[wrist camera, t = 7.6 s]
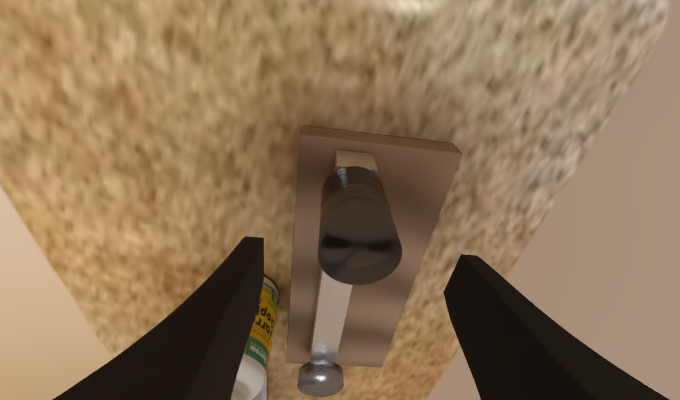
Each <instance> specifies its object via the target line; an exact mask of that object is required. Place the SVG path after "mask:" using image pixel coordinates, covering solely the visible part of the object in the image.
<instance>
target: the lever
mask: <svg viewBox="0 0 680 400" xmlns="http://www.w3.org/2000/svg"><path fill="white" fill-rule="evenodd" d="M377 172H378V169H377V166H376V163H375V159H374V156H373V154H369V153H360V152H351V151H342V150H336V156H335V164H334V171H333V173H332V174H331V175H330V176H329V177H328V178H327V179H326V181H325V182H324V184H323V187H322V191H321V208H320V226H319V244H318V261H319V264H320V266H321V270H320V277H319V285H318V293H317V300H316V308H315V315H314V323H313V331H312V338H311V346H310V353H309V362H308V363H306V364H304V365H303V366H301V368H300V369H299V374H298V389H299V390H300V391H301V392H302V393H304V394H306V395H309V396H314V397H326V396H331V395H334V394H336V393H338V392H340V391H341V390H342V388H343V385H344V383H343V369H342V367H341V366H340V365H338V364H337V363H336V358H337V354H338V349H339V344H340V340H341V335H342V331H343V326H344V322H345V317H346V313H347V308H348V304H349V299H350V294H351V290H352V285H366V284H371V283H375V282H377V281H380V280H382V279H384V278H386V277H387V276H389V275H390V274H391V273H392V272H393V271H394V270H395V269H396V268H397V266H398V265H399V263H400V261H401V257H402V246H401V243H400V239H399V236H398V233H397V230H396V226H395V223H394V220H393V216H392V213H391V210H390V206H389V203H388V200H387V197H386V193H385V190H384V187H383V184H382V181H381V180H380V178H379V177H378V176H377Z"/></svg>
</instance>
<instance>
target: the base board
mask: <svg viewBox="0 0 680 400" xmlns="http://www.w3.org/2000/svg"><path fill="white" fill-rule="evenodd" d="M336 150H342V151H351V152H360V153H369V154H373V156H374V159H375V163H376V166H377V169H378V172H377V176H378V177H379V178H380V180H381V181H382V184H383V187H384V190H385V193H386V197H387V200H388V203H389V206H390V210H391V213H392V216H393V220H394V223H395V226H396V230H397V233H398V236H399V239H400V243H401V246H402V257H401V261H400V263H399V265H398V266H397V268H396V269H395V270H394V271H393V272H392V273H391V274H390V275H389V276H387V277H386V278H384V279H382V280H380V281H377V282H375V283H371V284H366V285H352V290H351V294H350V299H349V304H348V308H347V313H346V317H345V322H344V326H343V331H342V335H341V340H340V344H339V349H338V354H337V358H336V363H337V364H338V365H345V366H366V367H382V365H383V362H384V359H385V357H386V354H387V352H388V349H389V346H390V344H391V341H392V338H393V336H394V333H395V330H396V328H397V325H398V322H399V320H400V317H401V314H402V312H403V309H404V306H405V304H406V301H407V298H408V296H409V293H410V291H411V288H412V285H413V283H414V280H415V277H416V275H417V272H418V269H419V267H420V264H421V261H422V259H423V256H424V253H425V251H426V248H427V245H428V243H429V240H430V237H431V235H432V232H433V230H434V227H435V224H436V222H437V219H438V216H439V214H440V211H441V208H442V206H443V203H444V200H445V198H446V195H447V192H448V190H449V187H450V184H451V182H452V179H453V176H454V174H455V171H456V169H457V166H458V163H459V161H460V158H461V155H462V153H461V152H460V151H459V150H458V149H457V147H456V146H455V145H454V144H453V143H444V142H436V141H427V140H419V139H411V138H402V137H394V136H386V135H377V134H369V133H360V132H352V131H344V130H335V129H327V128H319V127H310V126H302V130H301V134H300V148H299V164H298V180H297V196H296V212H295V229H294V245H293V261H292V277H291V293H290V309H289V326H288V342H287V358H286V363H302V364H306V363H308V362H309V353H310V346H311V338H312V331H313V323H314V315H315V308H316V300H317V293H318V285H319V277H320V270H321V266H320V264H319V261H318V244H319V226H320V208H321V191H322V187H323V184H324V182H325V181H326V179H327V178H328V177H329V176H330V175H331V174H332V173H333V171H334V164H335V156H336Z"/></svg>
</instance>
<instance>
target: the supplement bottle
mask: <svg viewBox="0 0 680 400" xmlns="http://www.w3.org/2000/svg"><path fill="white" fill-rule="evenodd" d="M278 302H279V293H278V290H277V288H276V286H275V285H274V284H273V283H272V282H271V281H270V280H269V279H268V278H266V277H264V282H263V287H262V292H261V297H260V302H259V306H258V310H257V313H256V316H255V319H254V323H253V326H252V329H251V332H250V335H249V338H248V341H247V344H246V348H245V351H244V354H243V357H242V360H241V363H240V366H239V370H238V373H237V377H236V380H235V384H234V388H233V392H232V396H231V400H252V399H253V398H254V397H255V396H256V395H257V394H258V393H259V392H260V391H261V389H262V387H263V385H264V382H265V378H266V373H267V367H268V361H269V355H270V350H271V344H272V338H273V332H274V326H275V321H276V315H277V309H278Z"/></svg>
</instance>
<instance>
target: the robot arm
mask: <svg viewBox="0 0 680 400" xmlns="http://www.w3.org/2000/svg"><path fill="white" fill-rule="evenodd" d="M263 282H264V238H258V237H244V238H243V239H242V240H241V241H240V243H239V244H238V245H237V246H236V248H235V249H234V250H233V251H232V252H231V254H230V255H229V256H228V257H227V258H226V259H225V260H224V262H223V263H222V264H221V265H220V266H219V267H218V268H217V269H216V270H215V271H214V272H213V274H212V275H211V276H210V277H209V278H208V279H207V280H206V281H205V282H204V283H203V284H202V285H201V286H200V287H199V288H198V289H197V290H196V291H195V292H194V293H193V294H192V295H191V296H189V297H188V298H187V299H186V300H185V301H184V302H183V303H182V304H181V305H180V306H179V307H178V308H177V309H175V310H174V311H173V312H172V313H171V314H170V315H169V316H167V317H166V318H165V319H164V320H163V321H161V322H160V323H159V324H158V325H157V326H155V327H154V328H153V329H152V330H151V331H149V332H148V333H147V334H145V335H144V336H143V337H142V338H140V339H139V340H138V341H136V342H135V343H134V344H132V345H131V346H130V347H129V348H127V349H126V350H125V351H123V352H122V353H120V354H119V355H118V356H116V357H115V358H114V359H112V360H111V361H110V362H108V363H107V364H105V365H104V366H102V367H101V368H99V369H98V370H96V371H95V372H93V373H92V374H90V375H89V376H88V377H86V378H84V379H83V380H81V381H80V382H79V383H77V384H76V385H74V386H73V387H71V388H70V389H68V390H67V391H65V392H64V393H62V394H61V395H59V396H57V397H56V398H54V399H53V400H231V396H232V392H233V388H234V384H235V380H236V377H237V373H238V370H239V366H240V363H241V360H242V357H243V354H244V351H245V348H246V344H247V341H248V338H249V335H250V332H251V329H252V326H253V323H254V319H255V316H256V313H257V310H258V306H259V302H260V297H261V292H262V287H263ZM444 295H445V300H446V304H447V308H448V312H449V316H450V319H451V322H452V325H453V327H454V330H455V332H456V335H457V338H458V340H459V343H460V345H461V348H462V350H463V353H464V355H465V358H466V360H467V363H468V365H469V368H470V370H471V373H472V375H473V378H474V380H475V383H476V386H477V389H478V392H479V395H480V398H481V400H669V399H667V398H666V397H664V396H663V395H661V394H659V393H658V392H656V391H654V390H653V389H651V388H649V387H648V386H646V385H644V384H643V383H641V382H640V381H638V380H637V379H635V378H634V377H632V376H630V375H629V374H627V373H626V372H624V371H623V370H621V369H619V368H618V367H617V366H615V365H614V364H612V363H611V362H609V361H607V360H606V359H605V358H603V357H602V356H600V355H599V354H598V353H596V352H595V351H593V350H592V349H591V348H589V347H588V346H586V345H585V344H584V343H582V342H581V341H579V340H578V339H577V338H575V337H574V336H572V335H571V334H570V333H569V332H567V331H566V330H565V329H563V328H562V327H561V326H560V325H558V324H557V323H556V322H555V321H553V320H552V319H551V318H549V317H548V316H547V315H546V314H545V313H543V312H542V311H541V310H540V309H538V308H537V307H536V306H535V305H534V304H533V303H531V302H530V301H529V300H528V299H527V298H526V297H524V296H523V295H522V294H521V293H520V292H519V291H518V290H516V289H515V288H514V287H513V286H512V285H510V283H508V282H507V281H506V280H505V279H504V278H503V277H502V276H501V275H499V274H498V273H497V272H496V271H495V270H494V269H493V268H491V267H490V266H489V265H488V264H487V263H486V262H484V261H483V260H482V259H481V258H479V257H478V256H475V255H463V254H461V256H460V258H459V260H458V262H457V265H456V267H455V269H454V271H453V273H452V275H451V278H450V280H449V282H448V284H447V286H446V288H445V291H444ZM252 400H267V373H266V378H265V382H264V385H263V387H262V389H261V391H260V392H259V393H258V394H257V395H256V396H255V397H254V398H253V399H252Z"/></svg>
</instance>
